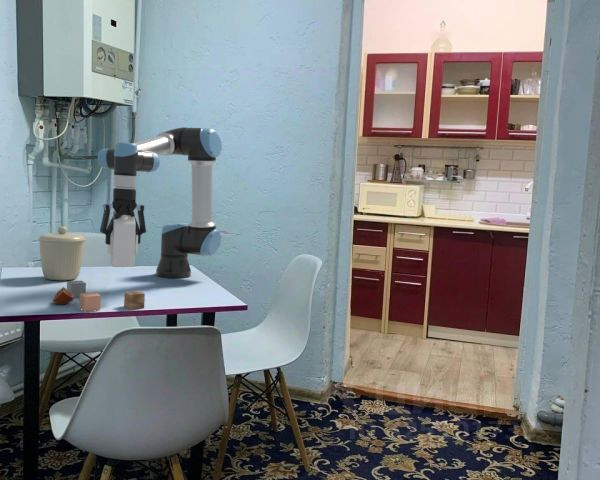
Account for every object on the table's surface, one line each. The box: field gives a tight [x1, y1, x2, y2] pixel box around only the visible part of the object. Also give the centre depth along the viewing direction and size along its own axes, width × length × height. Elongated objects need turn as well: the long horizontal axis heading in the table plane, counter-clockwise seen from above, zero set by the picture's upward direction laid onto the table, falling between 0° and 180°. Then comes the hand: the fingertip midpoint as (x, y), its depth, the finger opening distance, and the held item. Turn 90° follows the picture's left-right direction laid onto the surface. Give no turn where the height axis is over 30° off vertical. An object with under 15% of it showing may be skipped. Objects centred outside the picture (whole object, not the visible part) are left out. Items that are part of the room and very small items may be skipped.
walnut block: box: [123, 290, 146, 310], centre depth 190 cm, size 5×5×5 cm
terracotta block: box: [78, 292, 101, 312], centre depth 183 cm, size 5×5×5 cm
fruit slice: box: [52, 286, 76, 305], centre depth 188 cm, size 8×7×5 cm
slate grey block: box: [66, 280, 87, 298], centre depth 200 cm, size 5×5×5 cm
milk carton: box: [110, 210, 136, 268], centre depth 197 cm, size 7×7×19 cm
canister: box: [36, 226, 87, 282], centre depth 228 cm, size 18×18×21 cm
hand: (122, 253), depth 198 cm, fingers closed on milk carton, 8 cm apart
